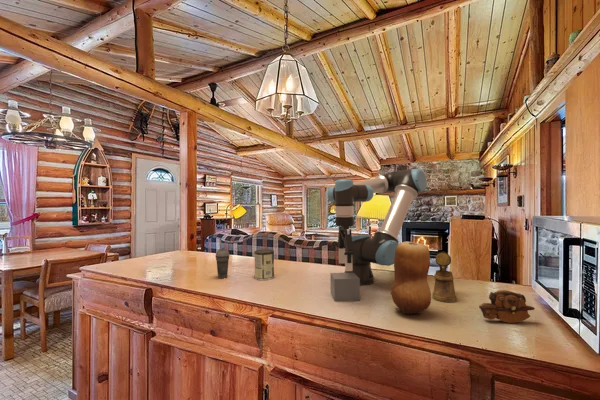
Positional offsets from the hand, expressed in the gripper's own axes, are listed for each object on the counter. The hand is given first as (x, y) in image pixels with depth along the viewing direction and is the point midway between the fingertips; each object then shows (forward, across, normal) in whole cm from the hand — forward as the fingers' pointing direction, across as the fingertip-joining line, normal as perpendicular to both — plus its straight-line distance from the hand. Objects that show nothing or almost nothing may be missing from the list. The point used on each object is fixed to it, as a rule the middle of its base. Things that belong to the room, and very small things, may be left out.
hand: (345, 267), depth 119 cm
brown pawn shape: (+13, +3, +40) cm, 43 cm away
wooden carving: (+13, +28, +48) cm, 57 cm away
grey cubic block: (+12, 0, -1) cm, 12 cm away
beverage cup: (+12, -34, -58) cm, 69 cm away
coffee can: (+12, -33, -36) cm, 51 cm away
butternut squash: (+13, +18, +20) cm, 30 cm away
